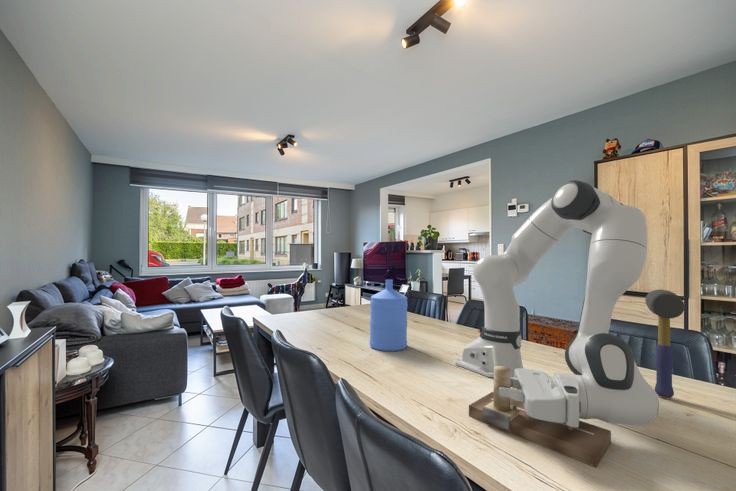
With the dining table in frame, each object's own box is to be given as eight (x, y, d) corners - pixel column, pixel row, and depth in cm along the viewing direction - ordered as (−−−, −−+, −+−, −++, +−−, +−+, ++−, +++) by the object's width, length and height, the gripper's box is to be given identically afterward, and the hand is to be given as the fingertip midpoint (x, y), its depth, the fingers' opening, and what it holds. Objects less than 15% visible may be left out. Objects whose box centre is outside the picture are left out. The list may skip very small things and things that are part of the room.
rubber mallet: (688, 409, 85) (687, 292, 86) (650, 402, 90) (649, 290, 90) (677, 393, 96) (676, 289, 96) (643, 387, 100) (643, 287, 101)
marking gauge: (482, 419, 77) (483, 368, 77) (494, 411, 80) (494, 362, 81) (508, 429, 72) (509, 375, 72) (519, 420, 76) (519, 369, 76)
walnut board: (468, 415, 80) (468, 404, 80) (492, 401, 88) (492, 391, 89) (596, 467, 61) (596, 453, 61) (610, 442, 70) (610, 430, 70)
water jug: (408, 352, 132) (409, 281, 132) (369, 351, 132) (370, 280, 132) (405, 341, 147) (405, 278, 148) (369, 341, 147) (370, 277, 148)
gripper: (553, 365, 83) (494, 359, 87) (580, 399, 63) (502, 389, 67) (553, 390, 83) (494, 383, 87) (580, 432, 63) (502, 420, 67)
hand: (498, 386), depth 77 cm, fingers closed on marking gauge, 4 cm apart
